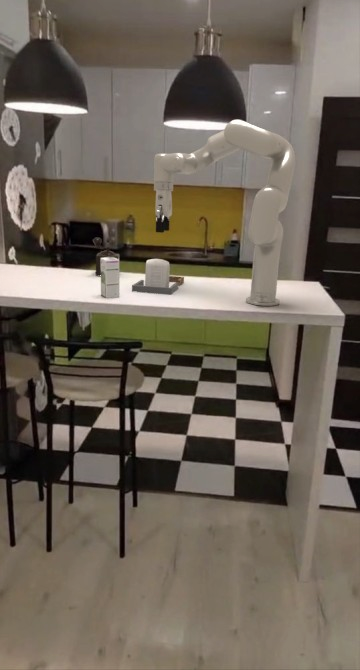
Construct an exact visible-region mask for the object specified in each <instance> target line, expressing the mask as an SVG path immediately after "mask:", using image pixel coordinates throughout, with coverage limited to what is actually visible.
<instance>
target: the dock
mask: <svg viewBox="0 0 360 670" xmlns="http://www.w3.org/2000/svg"><path fill="white" fill-rule="evenodd" d="M176 282H177V283H178V287H181V286H182V285H183V284H184V283H185V277H184V276H177V275H176V276H175V275H169V283H176Z"/></svg>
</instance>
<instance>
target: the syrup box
mask: <svg viewBox="0 0 360 670" xmlns="http://www.w3.org/2000/svg"><path fill="white" fill-rule="evenodd" d="M100 261H101V276H100V295H101V296H102V297H104V298H105V299H113V298H120V258H119V259H116V258H113V257H105V258H101V259H100Z"/></svg>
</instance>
